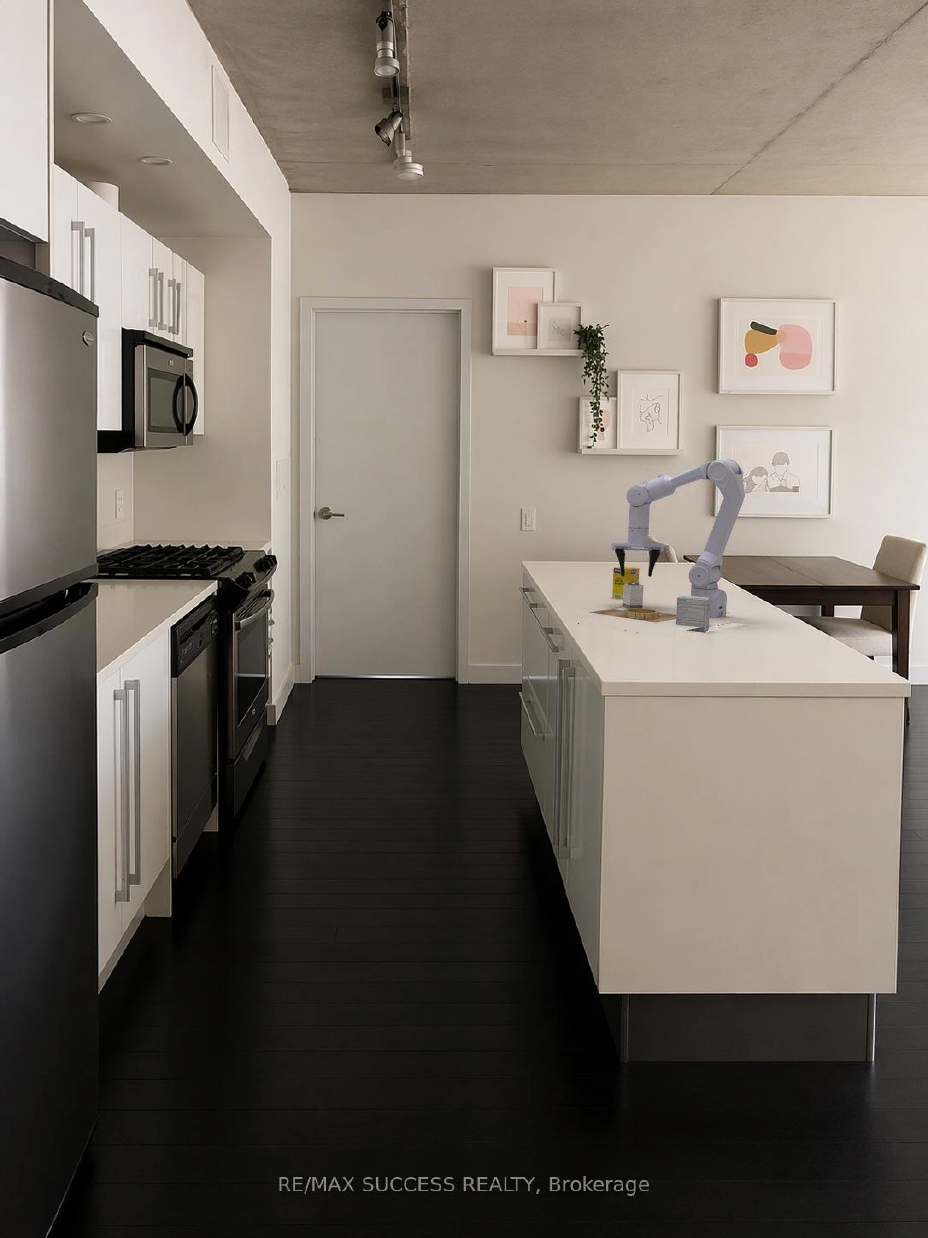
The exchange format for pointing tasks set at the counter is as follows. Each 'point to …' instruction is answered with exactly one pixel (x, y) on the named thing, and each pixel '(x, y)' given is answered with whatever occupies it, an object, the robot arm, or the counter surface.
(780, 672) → the counter surface
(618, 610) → the grey pad
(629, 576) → the supplement box
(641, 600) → the steel post
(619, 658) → the counter surface
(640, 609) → the brass eye
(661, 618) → the walnut board
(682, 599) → the medicine box
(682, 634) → the counter surface
